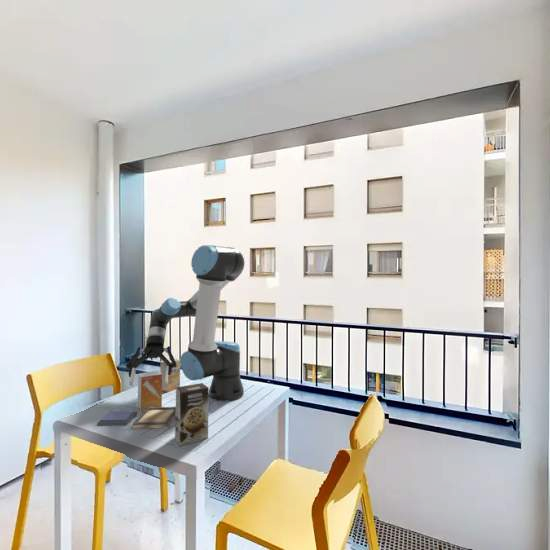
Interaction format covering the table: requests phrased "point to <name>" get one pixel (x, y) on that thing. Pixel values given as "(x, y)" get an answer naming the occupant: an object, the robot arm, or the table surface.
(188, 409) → the coffee box
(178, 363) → the supplement box
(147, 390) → the small box
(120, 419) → the ink pad
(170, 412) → the board
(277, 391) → the table surface
